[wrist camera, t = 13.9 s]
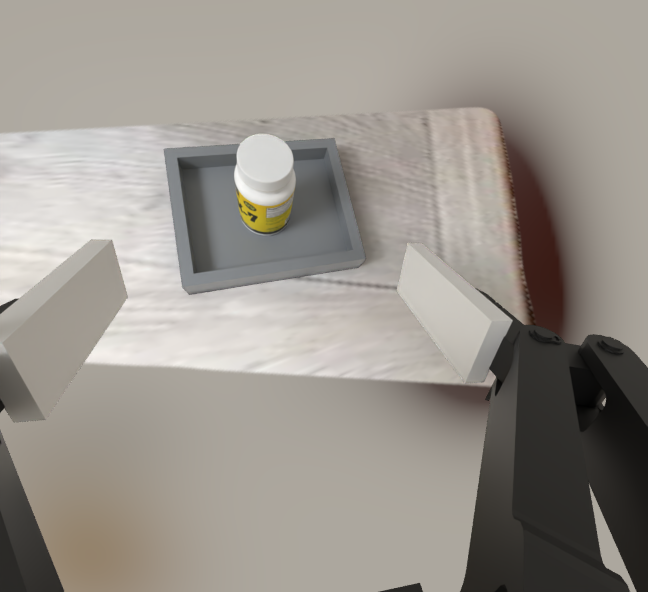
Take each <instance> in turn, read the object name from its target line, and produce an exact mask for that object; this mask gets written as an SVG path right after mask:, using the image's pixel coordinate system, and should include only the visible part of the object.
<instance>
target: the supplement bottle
mask: <svg viewBox="0 0 648 592" xmlns="http://www.w3.org/2000/svg"><path fill="white" fill-rule="evenodd" d="M293 164H294V159H293V154H292V151H291V149H290V148H289V146H288V145H287V144H286V143H285V142H284V141H283V140H281V139H280V138H278V137H276V136H273V135H270V134H255V135H252V136H249V137H247V138H246V139H245V140H243V141H242V143H241V144H240V145H239V147H238V150H237V165H236V167H235V171H234V181H235V187H236V193H237V200H238V206H239V213H240V217H241V220H242V222H243V223H244V225H245V226H246V227H247V228H248V229H249V230H250V231H252V232H254V233H256V234H258V235H263V236H269V235H274V234H277V233H279V232H280V231H282V230H283V229H284V228H285V227H286V225H287V224H288V222H289V219H290V214H291V208H292V202H293V197H294V191H295V184H296V177H295V172H294V169H293Z"/></svg>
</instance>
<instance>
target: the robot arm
mask: <svg viewBox="0 0 648 592" xmlns="http://www.w3.org/2000/svg"><path fill="white" fill-rule="evenodd" d="M397 292H398V294H399V295H400V296H401V298H402V299H403V301H404V302H405V303H406V305H407V306H408V307H409V309H410V310H411V311H412V313H413V314H414V315H415V317H416V318H417V319H418V321H419V322H420V324H421V325H422V326H423V328H424V329H425V330H426V332H427V333H428V334H429V336H430V337H431V338H432V340H433V341H434V343H435V344H436V345H437V347H438V348H439V349H440V351H441V352H442V353H443V355H444V356H445V357H446V359H447V360H448V362H449V363H450V364H451V366H452V367H453V368H454V370H455V371H456V372H457V374H458V375H459V376H460V378H461V379H462V380H463V382H464V383H465V384H466V383H478V382H484V380H485V378H486V376H487V374H488V372H489V369H490V370H491V371H492V372H493V373H494V375H495V376H496V379H495V381H494V383H493V385H492V387H491V389H490V391H489V393H488V395H487V397H486V399H485V400H488V401H489V399H490V398H491V399H490V407H489V414H488V420H487V427H486V434H485V441H484V449H483V456H482V463H481V470H480V477H479V484H478V491H477V499H476V505H475V512H474V519H473V526H472V533H471V541H470V548H469V555H468V561H467V569H466V574H465V578H464V583H463V585H462V588H461V591H460V592H630V591H629V588H628V586H627V584H626V583H625V581H624V580H623V579H622V577H621V576H620V575H618V574H616V573H615V572H613V571H611V570H609V569H607V568H606V567H605V566H604V564H603V561H602V558H601V554H600V548H599V542H598V536H597V531H596V524H595V518H594V512H593V506H592V500H591V495H590V488H589V484H590V487H591V489H592V491H593V493H594V496H595V498H596V500H597V502H598V505H599V507H600V509H601V512H602V514H603V516H604V518H605V521H606V523H607V525H608V528H609V530H610V532H611V534H612V536H613V539H614V541H615V543H616V546H617V548H618V550H619V552H620V555H621V557H622V559H623V562H624V564H625V566H626V569H627V571H628V573H629V575H630V578H631V580H632V582H633V584H634V587H635V589H636V591H637V592H648V368H647V366H646V365H645V364H644V363H643V362H642V361H641V360H640V358H639V357H638V356H637V355H636V354H635V353H634V352H633V351H632V350H631V349H630V348H629V347H627V346H626V345H624V344H622V343H621V342H620V341H618V340H616V339H615V340H614V339H613V338H611V337H605V336H602V335H594V334H593V335H588V336H587V338H586V339H585V340H584V342H583V344H582V345H581V346H579V345H573V344H567V343H564V341H563V339H562V338H561V337H559V336H558V335H557V334H555V333H554V332H552V331H550V330H548V329H545V328H543V327H539V326H535V325H523V324H522V323H521V322H520V321H519V320H517V319H516V318H515V317H514V316H513V315H511V314H510V313H509V312H508V311H507V310H505V309H504V308H502V306H501V305H499V304H498V303H496V302H495V300H493V299H492V298H491V297H490V296H489V295H487V294H486V293H484V292H482V291H480V290H478V289H476V288H474V287H473V286H472V285H471V284H469V283H468V282H467V281H466V280H465V279H464V278H462V277H461V276H460V275H459V274H458V273H457V272H455V271H454V270H453V269H452V268H451V267H450V266H448V265H447V264H446V263H445V262H444V261H442V260H441V259H440V258H439V257H438V256H437V255H435V254H434V253H433V252H432V251H431V250H430V249H428V248H427V247H426V246H425V245H424V244H423V243H407V248H406V252H405V257H404V261H403V265H402V270H401V274H400V278H399V283H398V287H397ZM127 298H128V295H127V292H126V288H125V285H124V281H123V278H122V274H121V270H120V267H119V263H118V260H117V256H116V253H115V249H114V245H113V242H112V240H90V241H89V242H88V243H86V244H85V245H84V246H83V247H82V248H80V249H79V250H78V251H77V252H75V253H74V254H73V255H72V256H71V257H69V258H68V259H67V260H66V261H64V262H63V263H62V264H61V265H60V266H58V267H57V268H56V269H55V270H54V271H52V272H51V273H50V274H49V275H47V276H46V277H45V278H44V279H43V280H41V281H40V282H39V283H38V284H36V285H35V286H34V287H33V288H32V289H30V290H29V291H28V292H27V293H25V294H24V295H23V296H22V297H21V298H19V299H14V300H12V301H10V302H8V303H5V304H3V305H1V306H0V412H1V411H2V410H3V409H4V408H5V410H6V411H7V413H8V415H9V416H10V418H11V419H12V421H13V422H26V421H36V420H37V421H38V420H46V419H47V417H48V416H49V414H50V413H51V411H52V409H53V408H54V407H55V405H56V404H57V402H58V401H59V399H60V398H61V396H62V395H63V393H64V392H65V390H66V389H67V387H68V386H69V384H70V383H71V381H72V380H73V378H74V377H75V375H76V374H77V372H78V371H79V369H80V368H81V366H82V365H83V363H84V362H85V360H86V359H87V357H88V356H89V354H90V353H91V351H92V350H93V348H94V347H95V345H96V344H97V342H98V341H99V339H100V338H101V336H102V335H103V333H104V332H105V330H106V329H107V327H108V326H109V325H110V323H111V322H112V320H113V319H114V317H115V316H116V314H117V313H118V311H119V310H120V308H121V307H122V305H123V304H124V302H125V301H126V299H127ZM605 398H606V404H605V406H603V405H602V402H603V400H604V399H605ZM0 592H64V589H63V587H62V584H61V582H60V579H59V577H58V574H57V572H56V569H55V567H54V565H53V562H52V559H51V557H50V554H49V552H48V549H47V547H46V544H45V542H44V539H43V536H42V534H41V531H40V529H39V526H38V524H37V521H36V519H35V516H34V514H33V511H32V509H31V506H30V504H29V501H28V499H27V496H26V494H25V491H24V489H23V486H22V484H21V481H20V479H19V476H18V474H17V471H16V469H15V466H14V464H13V461H12V458H11V456H10V453H9V451H8V448H7V446H6V444H5V441H4V438H3V436H2V433H1V431H0ZM380 592H423V591H422V588H421V585H420V583H417V584H413V585H408V586H403V587H399V588H394V589H389V590H385V591H380Z"/></svg>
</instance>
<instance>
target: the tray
mask: <svg viewBox="0 0 648 592" xmlns="http://www.w3.org/2000/svg"><path fill="white" fill-rule="evenodd" d="M284 142H285V143H286V144H287V145H288V146H289V148H290V149H291V151H292V154H293V159H294V164H293V169H294V172H295V177H296V184H295V191H294V197H293V202H292V208H291V214H290V219H289V222H288V224H287V225H286V227H285V228H284V229H283V230H282V231H280V232H279V233H277V234H274V235H269V236H263V235H258V234H256V233H254V232H252V231H250V230H249V229H248V228H247V227H246V226H245V225H244V223H243V222H242V220H241V217H240V213H239V206H238V200H237V193H236V187H235V181H234V171H235V167H236V165H237V150H238V147H239V145H240V144H232V145H216V146H200V147H183V148H167V149H164V155H165V163H166V170H167V178H168V185H169V193H170V200H171V208H172V215H173V223H174V230H175V237H176V245H177V252H178V260H179V267H180V275H181V282H182V288H183V289H184V290H185V291H186V292H187V293H188V294H189V295H191V294H197V293H203V292H210V291H216V290H222V289H228V288H234V287H241V286H247V285H253V284H259V283H265V282H272V281H278V280H284V279H290V278H296V277H303V276H309V275H315V274H321V273H327V272H334V271H340V270H346V269H352V268H358V267H359V266H360V265H361V264H362V263H363V262H364V260H365V259H366V256H365V253H364V249H363V245H362V241H361V237H360V234H359V230H358V226H357V222H356V218H355V215H354V211H353V207H352V203H351V199H350V196H349V192H348V188H347V184H346V180H345V176H344V173H343V169H342V165H341V161H340V157H339V154H338V150H337V146H336V142H335V138H331V139H314V140H298V141H284Z"/></svg>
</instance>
